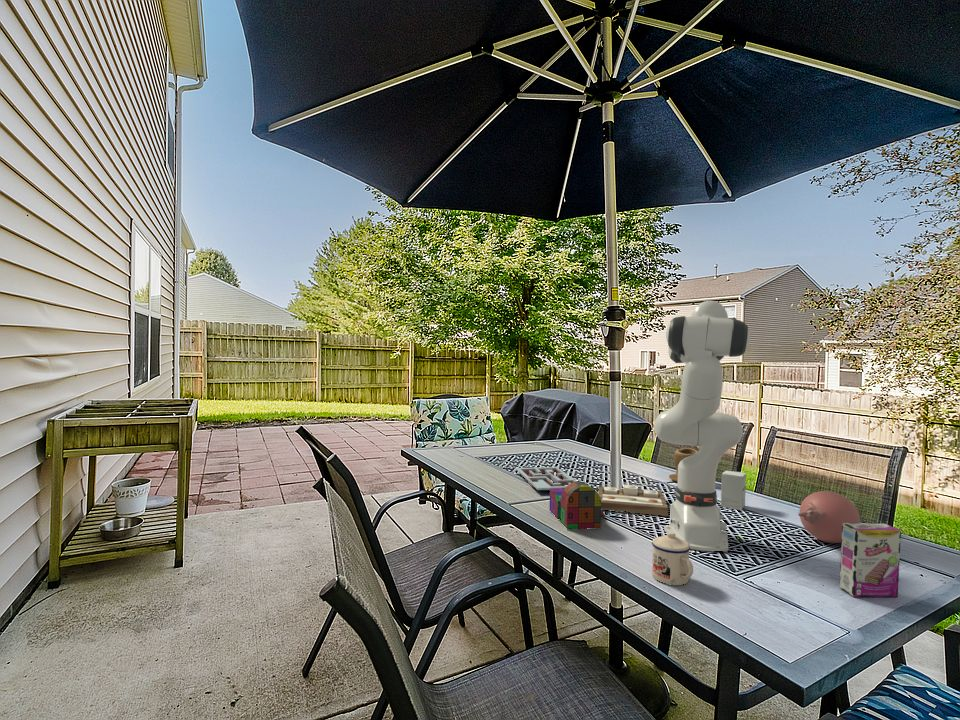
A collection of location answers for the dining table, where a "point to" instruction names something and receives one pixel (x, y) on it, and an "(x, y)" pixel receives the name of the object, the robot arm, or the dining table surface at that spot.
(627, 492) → the middle button
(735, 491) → the supplement box
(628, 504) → the button board
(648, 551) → the dining table surface
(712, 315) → the robot arm
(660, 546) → the teacup with lid
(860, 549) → the candy bar box
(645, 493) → the right button
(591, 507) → the block puzzle
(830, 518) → the red onion
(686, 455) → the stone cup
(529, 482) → the maze game
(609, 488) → the left button
